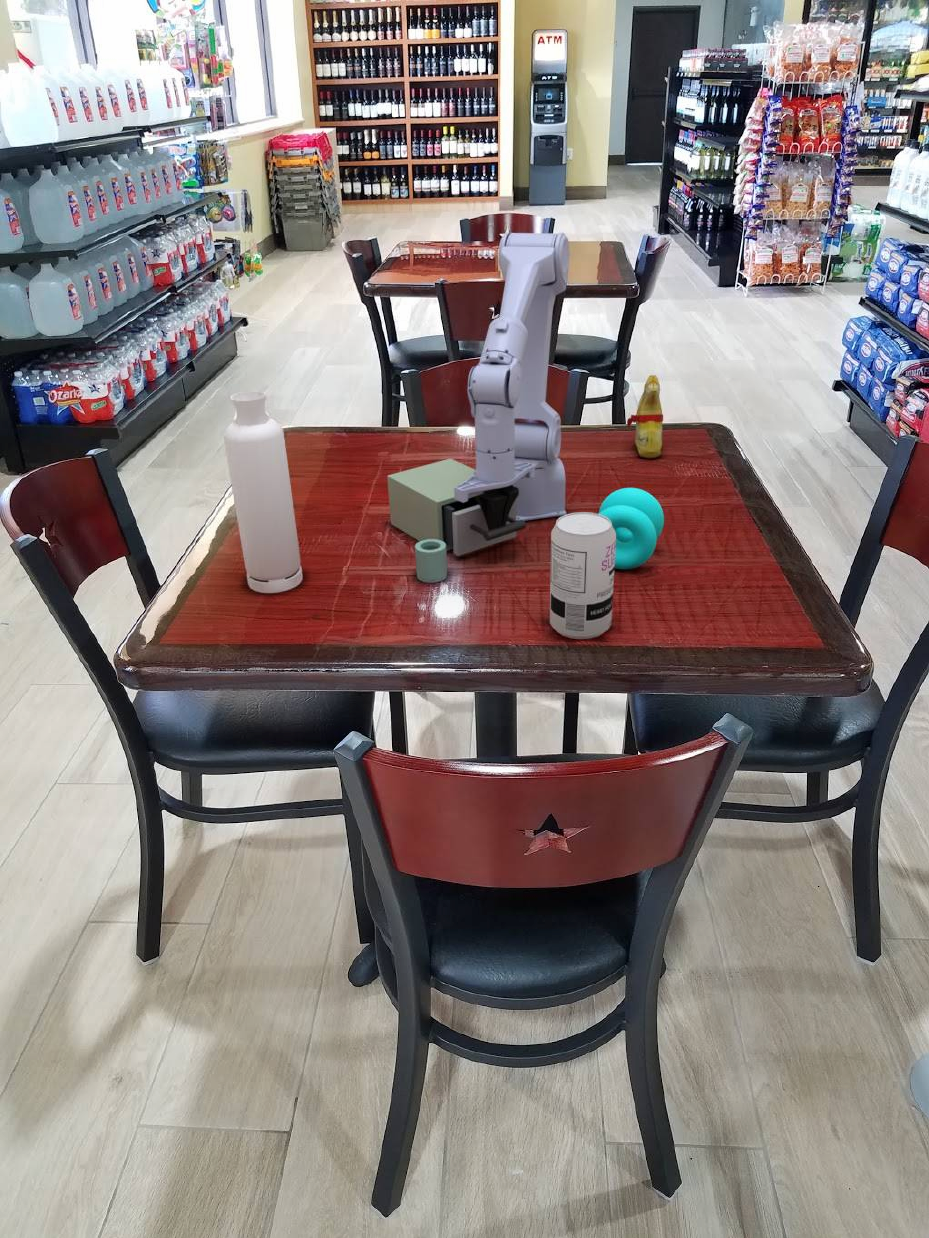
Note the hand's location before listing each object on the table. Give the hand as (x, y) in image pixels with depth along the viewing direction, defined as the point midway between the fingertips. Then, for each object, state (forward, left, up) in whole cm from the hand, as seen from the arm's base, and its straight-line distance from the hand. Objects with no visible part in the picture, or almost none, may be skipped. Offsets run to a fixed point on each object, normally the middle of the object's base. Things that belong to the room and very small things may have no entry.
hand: (496, 532), depth 142 cm
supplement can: (-4, +24, -4) cm, 25 cm away
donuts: (-18, +7, -4) cm, 20 cm away
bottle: (+34, -3, -4) cm, 34 cm away
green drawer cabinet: (+5, -13, -4) cm, 14 cm away
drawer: (+2, -6, -3) cm, 7 cm away
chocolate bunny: (-41, -36, -4) cm, 55 cm away
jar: (+11, +3, -4) cm, 12 cm away
